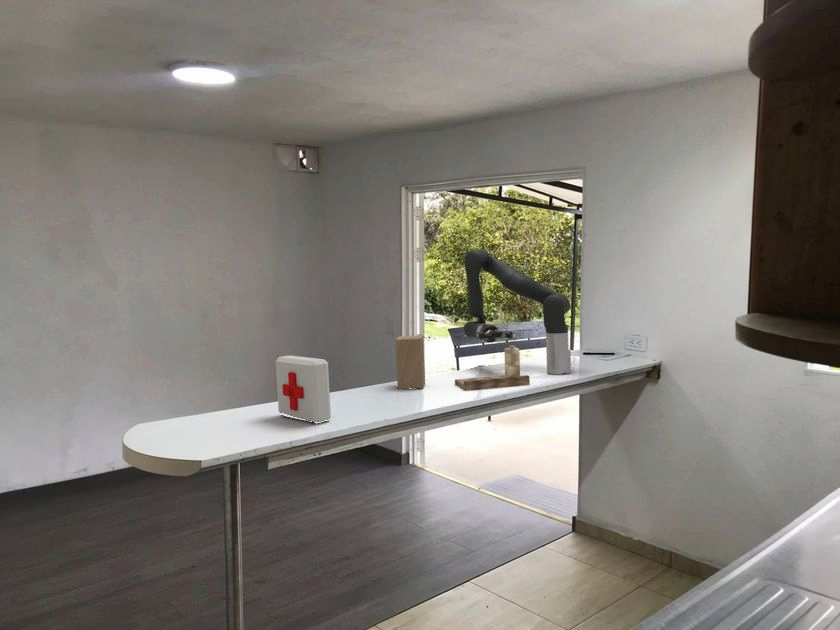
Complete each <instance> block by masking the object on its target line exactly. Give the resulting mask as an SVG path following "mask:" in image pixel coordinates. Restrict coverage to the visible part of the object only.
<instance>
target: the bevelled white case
mask: <svg viewBox="0 0 840 630" xmlns="http://www.w3.org/2000/svg"><path fill="white" fill-rule="evenodd" d="M275 369H276V370H275V371H276V373H275V374H276V387H277V388H276V390H277V391H276V392H277V405H278V408H277V409H278V413H279V412H280V413H284V414H287V415H290V416H293V417H297V418H301V419H305V420H308V421H312V422H321V421H324V420H328V419H329V420H330V419H331V418H332V411H331V393H330V378H329V377H330V376H329V362H328V361H327V360H326V359H322V358H316V357H315V358H314V357H308V356H307V357H306V356H297V355H284V356H283V355H282V356H278V357H277V359H276V360H275ZM329 420H328V421H329Z"/></svg>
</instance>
